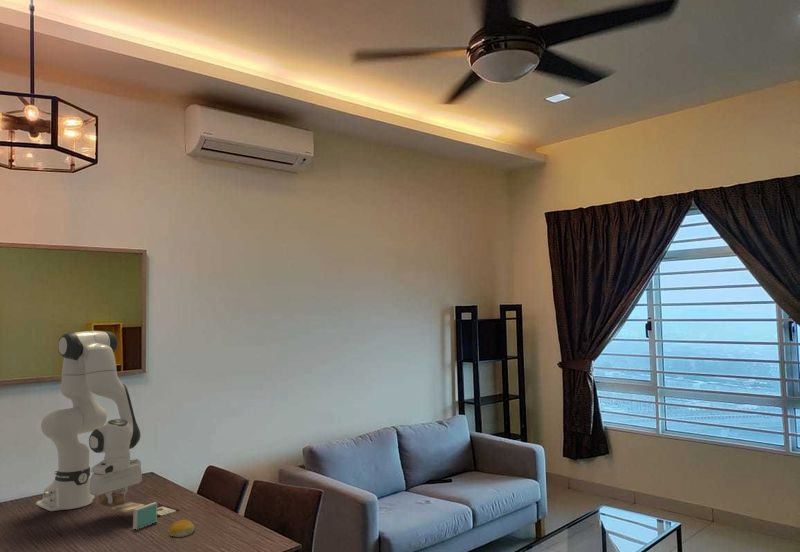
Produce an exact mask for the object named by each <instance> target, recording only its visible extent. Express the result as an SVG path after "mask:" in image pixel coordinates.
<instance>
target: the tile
mask: <svg viewBox="0 0 800 552" xmlns="http://www.w3.org/2000/svg"><path fill="white" fill-rule="evenodd" d="M152 502H153V503H151V502H150V503H151V504H148V505H145V506H142V507H139V508H136V509H134V511H132V512H133V516H132V517H133V518H132V521H133V523H132V529H133V530H134V529H136V530H135V531H138V530H140V529H142V527H143V528H145V527H147V525H148V526H150V525H153V524H155V522H156V523H157V522H158V517H157V503H158V502H156V501H152ZM152 523H153V524H152ZM144 526H145V527H144ZM139 528H140V529H139ZM137 529H138V530H137Z"/></svg>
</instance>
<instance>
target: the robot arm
mask: <svg viewBox="0 0 800 552" xmlns="http://www.w3.org/2000/svg"><path fill="white" fill-rule="evenodd" d="M118 342H119V341H118V338H117V336H116V334H115V333H114V332H112V331H107V330H103V331H101V330H86V331H85V330H84V331H77V332H76V331H75V332H74V331H71V332H67V333H63V334H62V335H61V336H60V338H59V340H58V342H57V349H58V350H57V351H58V353H59V355H61V357H62V358H63V362H62V367H61V368H62V369H61V380H60V382H61V383H60V384H61V386H60V392H61V394H62V396H64V397H65V398H67V399H69V400H70V401H71V402H72V407H69V408H63V409H58V410H57V409H56V410H54V411H52V412H49V413H47V414H45V415H44V416H43V418H42V420H41V422H40V428H41V432H42V433H43V435H44V436H45V437H47V438H49V439H50V440H51V441H52V442H53V443H54V445H55V447H56V450H57V456H58V457H57V458H58V459H57V460H58V464H57V468H58V469H57V470H56V471H54V475H55V477H54V480H53V481H52V482H51V483H50V484H49V485H47V486H46V487H45V488H44V490H43V494H42V499H40V500H38V501H36V503H35V506H38V507H40V508H41V509H45V510H46V511H49V512H54V511H61V510H62V511H63V510H73V509H78V508H82V507H86V506H88V505H90V504H92V503H93V502H94V501H93V500H94V499H95V498H96V497H97V496H98V497H99V495H101V494H105V495H106V496H107V498H108V503H110V504H111V503H114V502H115V501H114V500H115V498H113V497H112V496H111V494H112V493H113V492H114V491H118V490H121V492H120V494H123V495H124V500H125V499H126V494H127V492H128V490H129V487H131V486H133V485H137V484H140V483H141V482H142V480H143V474H142V473H143V472H142V466H141V465H142V462H141V460H140V459H138V458H134V459H131V451H130V450H132V449H134V448H135V447H136V445H138V443H139V442H140V440H141V431H140V430H141V429H140V427H139V426H138V422H137V420H136V416H135V413H134V409H133V405H132V401H131V397H130V394H129V390H128V388H127V386H126V384H124V383H122V382H121V380H120V378H119V376H118V370H117V369H118V368H117V362H116V356H115V352H116V351H117V349H118V344H119V343H118ZM94 395H97V396H99V397H104V398H107V399H110V400H112V401H113V402H115V404H116V406H117V410H118V414H119V418H114V419H111V420H109V421H107V417H108V414H107V412H106V409H105V408H104V407H103V406H101V405H100V404H99V403H98V402H97V401H96V399H95V396H94ZM90 432H91V433H90ZM86 433H90V435H89V437H88V439H89V440H88V444H89V447H88V446H87V445H86V444H84V443H82V442H80V441H79V438H78V437H79V435H80V434H86ZM90 450H91V451H93V453H96V454H103V453H104V457H103V460H101V461H100V462H99V463H96V464H95V465H94V466H92V467H90ZM91 473H92V474H91ZM95 496H96V497H95Z"/></svg>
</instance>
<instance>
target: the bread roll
mask: <svg viewBox="0 0 800 552" xmlns="http://www.w3.org/2000/svg"><path fill="white" fill-rule="evenodd" d="M195 528H196V527H195V525H194V524H193V522H191V521H190V520H188V519H180V520H177V521H175V522H173V524H171V526H170V528H169V533H168V534H169V536H170V537H172V536H173V537H172V538H182V537H188V536H190V535H192V534H193V533H194V532H195V531H196V530H195Z"/></svg>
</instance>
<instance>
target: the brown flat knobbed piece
mask: <svg viewBox="0 0 800 552" xmlns="http://www.w3.org/2000/svg"><path fill="white" fill-rule="evenodd" d="M111 496H112V497H113V498H115V500H114V501H115V502H114V503H111V504H110V503H108V498H107V496H106V495H105V494H101V495H98V505H100V506H105V507H111V510H113V511H119V512H123V513H131V512H133V511H134V509H136V508H139V507H142V506H145V505H144V504H142V503H138V502H137V503H136V502H132V501H126V502H125V501H124V500H125V499H124V495H123V494H121V493H117V492H112V494H111Z"/></svg>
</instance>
